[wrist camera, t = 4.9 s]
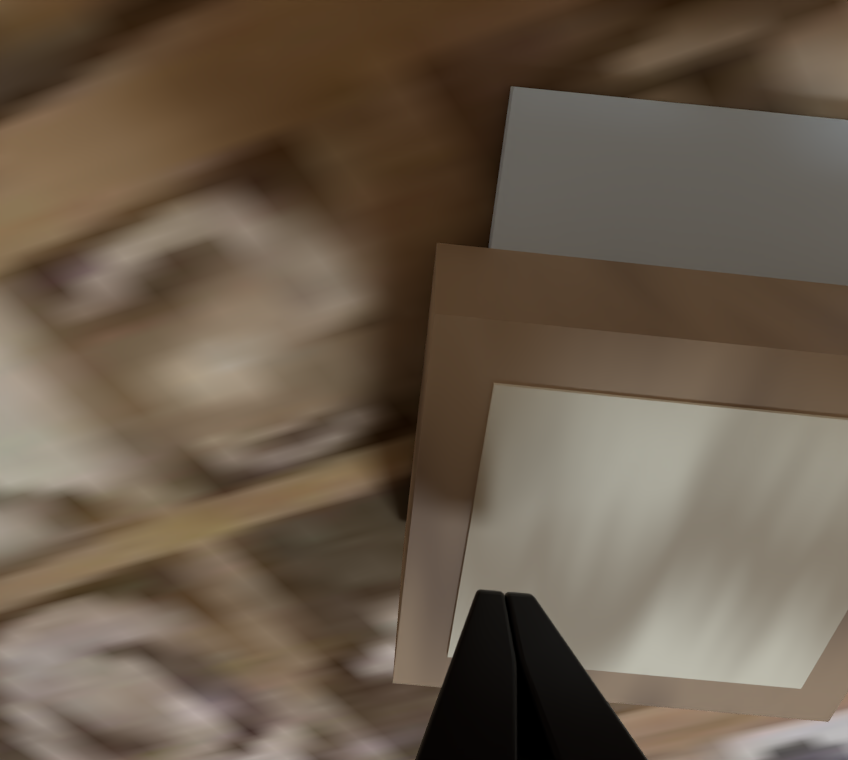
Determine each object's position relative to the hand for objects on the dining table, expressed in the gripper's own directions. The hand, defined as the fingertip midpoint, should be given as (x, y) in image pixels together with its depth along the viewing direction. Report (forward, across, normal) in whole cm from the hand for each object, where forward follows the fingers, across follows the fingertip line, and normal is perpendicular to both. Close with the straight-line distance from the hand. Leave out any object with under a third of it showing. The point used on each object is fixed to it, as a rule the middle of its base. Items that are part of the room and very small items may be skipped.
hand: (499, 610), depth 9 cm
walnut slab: (+4, +1, 0) cm, 4 cm away
